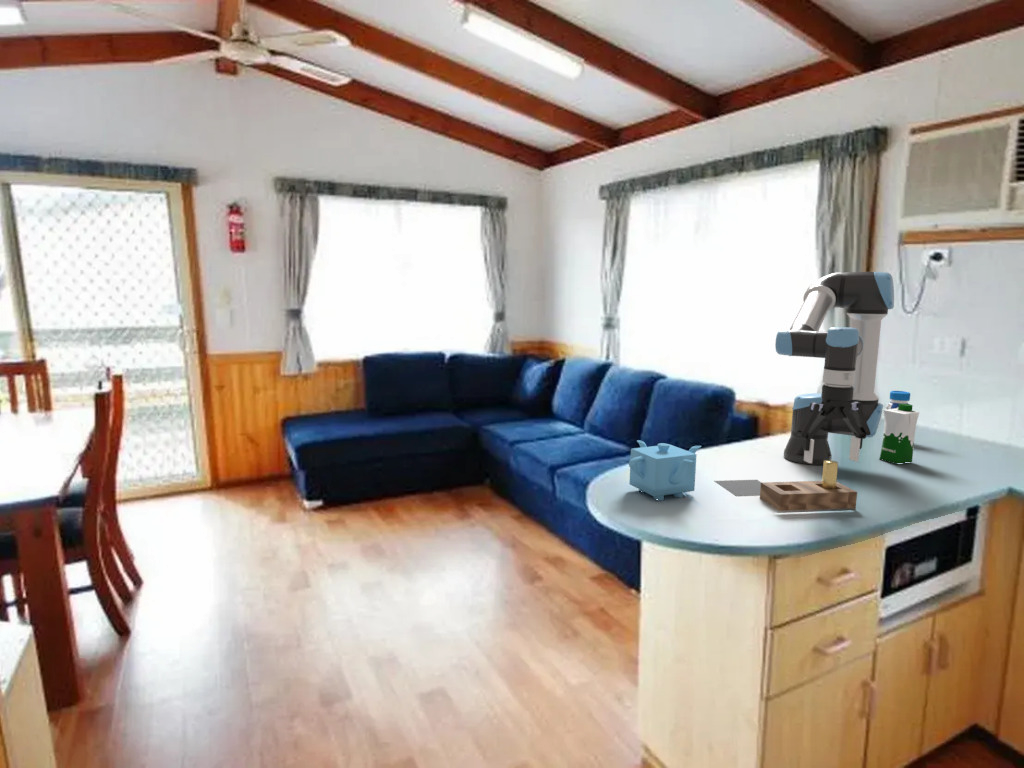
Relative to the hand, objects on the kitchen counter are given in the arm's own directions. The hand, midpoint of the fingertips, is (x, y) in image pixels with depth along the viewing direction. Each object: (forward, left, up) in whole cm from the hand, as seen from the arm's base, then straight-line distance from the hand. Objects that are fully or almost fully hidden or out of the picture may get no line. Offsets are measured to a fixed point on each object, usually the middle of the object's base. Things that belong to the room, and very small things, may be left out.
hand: (830, 461), depth 167 cm
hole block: (+6, 0, -12) cm, 14 cm away
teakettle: (+42, -13, -12) cm, 46 cm away
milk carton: (-52, -38, -12) cm, 65 cm away
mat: (+16, -14, -12) cm, 24 cm away
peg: (0, 0, -12) cm, 12 cm away
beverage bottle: (-73, -64, -12) cm, 97 cm away
